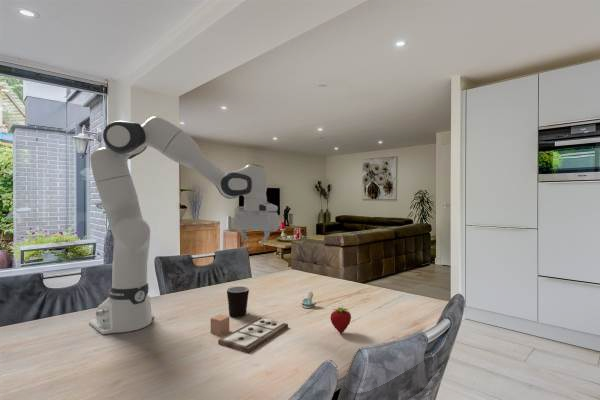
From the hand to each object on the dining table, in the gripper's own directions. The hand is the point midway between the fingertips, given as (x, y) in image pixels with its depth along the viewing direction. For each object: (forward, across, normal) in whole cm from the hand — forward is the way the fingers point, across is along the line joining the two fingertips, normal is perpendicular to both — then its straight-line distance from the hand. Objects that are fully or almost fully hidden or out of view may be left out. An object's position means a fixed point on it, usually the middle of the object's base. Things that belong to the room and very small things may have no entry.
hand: (254, 241), depth 122 cm
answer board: (+29, +11, -13) cm, 34 cm away
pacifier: (+29, +13, +22) cm, 38 cm away
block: (+29, 0, -17) cm, 34 cm away
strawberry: (+29, +35, +3) cm, 46 cm away
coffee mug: (+29, -7, 0) cm, 30 cm away
